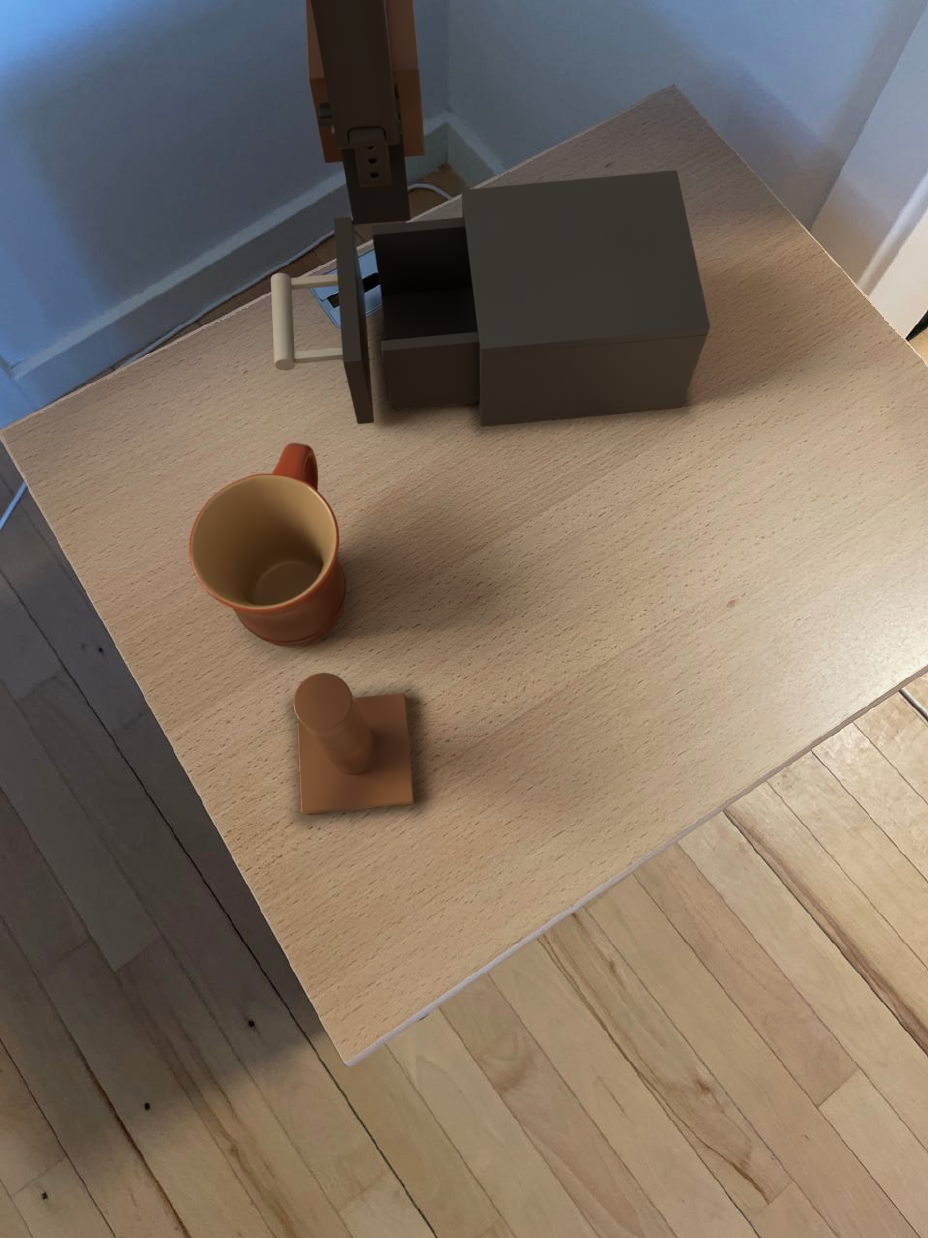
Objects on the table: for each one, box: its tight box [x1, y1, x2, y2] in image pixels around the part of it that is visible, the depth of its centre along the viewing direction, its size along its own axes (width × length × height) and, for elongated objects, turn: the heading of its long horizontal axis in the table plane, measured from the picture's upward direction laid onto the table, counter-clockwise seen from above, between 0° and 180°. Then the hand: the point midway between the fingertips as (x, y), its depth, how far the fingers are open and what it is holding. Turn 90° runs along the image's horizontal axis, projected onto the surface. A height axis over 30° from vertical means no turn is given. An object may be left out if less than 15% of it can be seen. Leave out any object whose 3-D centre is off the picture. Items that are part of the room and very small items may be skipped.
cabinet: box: [461, 169, 711, 427], centre depth 69 cm, size 15×13×10 cm
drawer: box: [270, 216, 480, 425], centre depth 68 cm, size 18×11×8 cm, turn 96°
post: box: [292, 672, 415, 815], centre depth 57 cm, size 7×7×14 cm
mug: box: [188, 442, 347, 648], centre depth 63 cm, size 12×9×10 cm
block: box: [304, 0, 426, 164], centre depth 43 cm, size 4×4×4 cm
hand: (378, 171), depth 48 cm, fingers closed on block, 4 cm apart
